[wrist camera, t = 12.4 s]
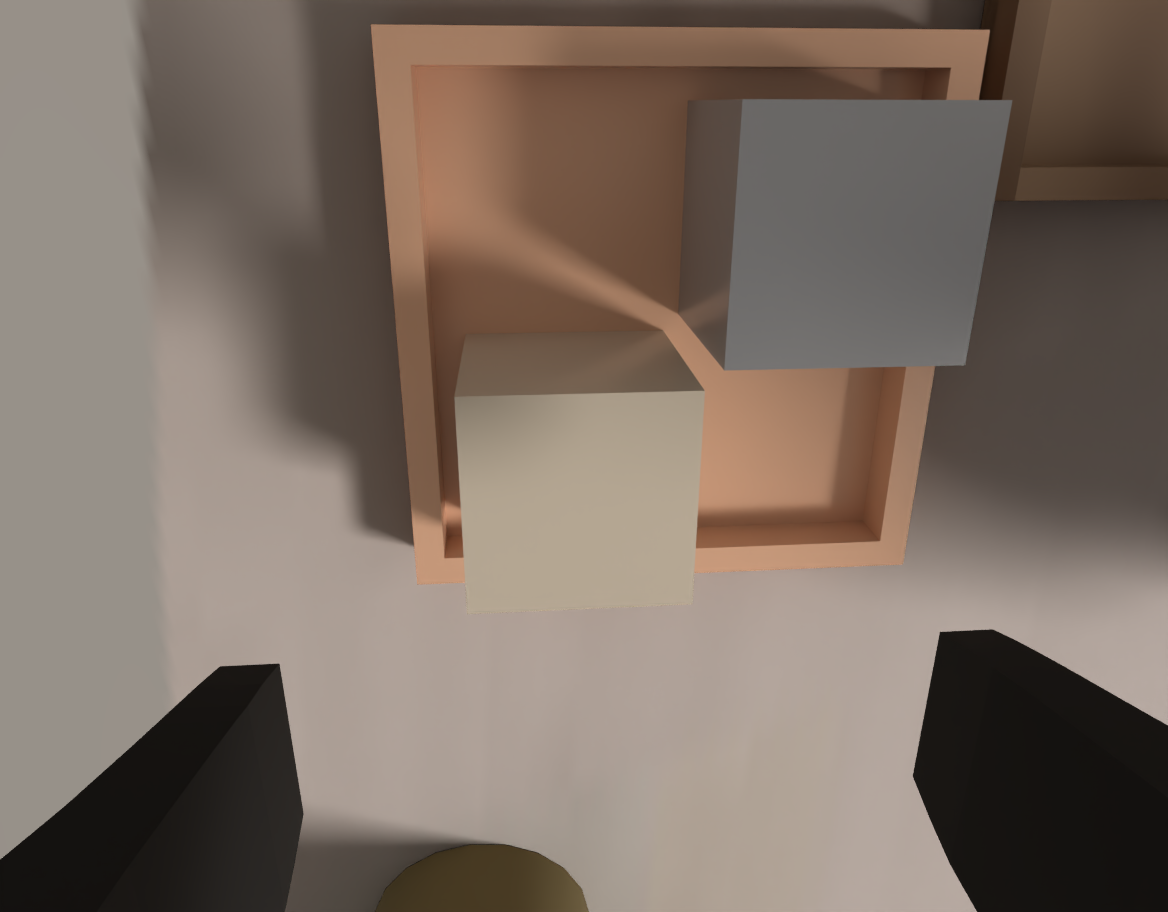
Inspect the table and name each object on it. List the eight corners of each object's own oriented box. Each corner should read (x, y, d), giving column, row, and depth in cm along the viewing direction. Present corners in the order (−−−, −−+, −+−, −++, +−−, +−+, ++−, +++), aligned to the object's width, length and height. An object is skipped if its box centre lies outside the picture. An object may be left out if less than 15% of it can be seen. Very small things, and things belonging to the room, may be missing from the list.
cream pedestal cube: (656, 506, 19) (692, 604, 15) (474, 513, 19) (466, 614, 15) (663, 330, 17) (705, 390, 14) (465, 333, 17) (454, 396, 13)
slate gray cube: (869, 310, 18) (965, 364, 14) (678, 313, 17) (724, 370, 14) (897, 101, 16) (1012, 100, 12) (687, 100, 16) (742, 98, 12)
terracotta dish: (948, 36, 16) (990, 29, 15) (875, 533, 20) (903, 564, 19) (383, 31, 15) (370, 24, 14) (423, 550, 19) (417, 584, 18)
